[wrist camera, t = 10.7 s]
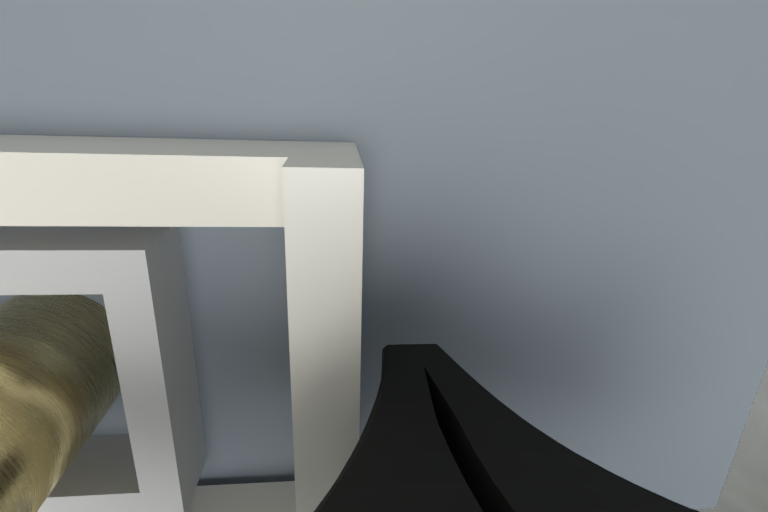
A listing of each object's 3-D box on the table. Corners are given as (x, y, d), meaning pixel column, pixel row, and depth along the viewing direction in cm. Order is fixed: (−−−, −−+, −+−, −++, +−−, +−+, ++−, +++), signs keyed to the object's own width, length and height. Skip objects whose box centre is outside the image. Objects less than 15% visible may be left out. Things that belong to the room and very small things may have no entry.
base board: (682, 471, 17) (766, 564, 14) (-23, 509, 15) (-129, 634, 11) (839, -25, 12) (1039, -70, 8) (-233, -96, 9) (-552, -199, 6)
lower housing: (350, 509, 14) (355, 641, 10) (-9, 530, 13) (-128, 684, 9) (355, 142, 10) (363, 168, 7) (-143, 131, 9) (-409, 155, 6)
